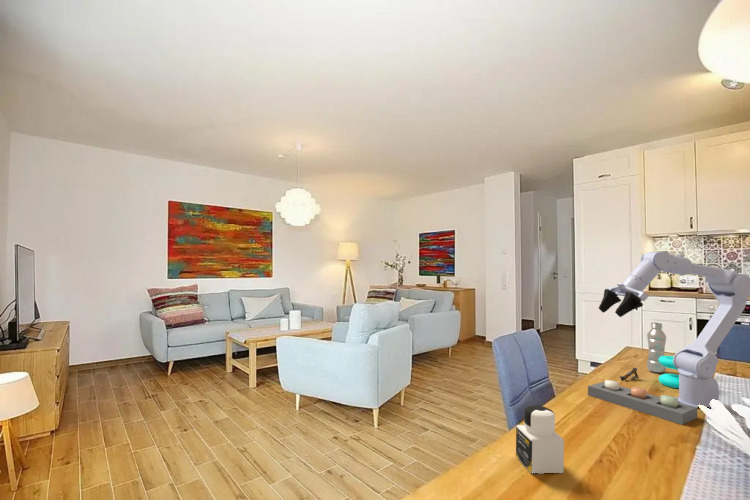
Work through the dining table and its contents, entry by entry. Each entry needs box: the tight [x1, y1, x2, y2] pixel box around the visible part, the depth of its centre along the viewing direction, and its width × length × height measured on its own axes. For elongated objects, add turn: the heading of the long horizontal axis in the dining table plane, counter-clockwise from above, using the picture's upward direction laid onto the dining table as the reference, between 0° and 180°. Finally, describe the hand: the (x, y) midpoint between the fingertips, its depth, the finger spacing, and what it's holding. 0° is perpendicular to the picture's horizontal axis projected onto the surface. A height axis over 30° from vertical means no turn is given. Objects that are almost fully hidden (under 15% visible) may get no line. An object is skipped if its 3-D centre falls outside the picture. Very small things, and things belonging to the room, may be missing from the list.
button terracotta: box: [630, 386, 648, 400], centre depth 118 cm, size 4×4×3 cm
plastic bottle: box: [646, 322, 667, 374], centre depth 157 cm, size 6×7×20 cm
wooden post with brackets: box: [619, 367, 639, 382], centre depth 145 cm, size 2×8×4 cm, turn 109°
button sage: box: [660, 394, 678, 409], centre depth 112 cm, size 4×4×3 cm
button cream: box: [604, 379, 620, 392], centre depth 125 cm, size 4×4×3 cm
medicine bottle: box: [515, 405, 565, 475], centre depth 82 cm, size 7×7×12 cm
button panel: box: [587, 381, 699, 426], centre depth 118 cm, size 26×10×3 cm, turn 31°
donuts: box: [658, 355, 679, 390], centre depth 140 cm, size 10×10×10 cm
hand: (609, 312), depth 121 cm, fingers open, 7 cm apart
